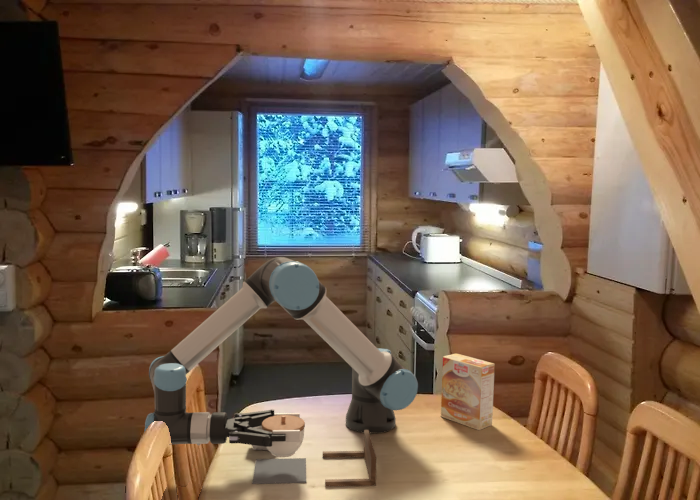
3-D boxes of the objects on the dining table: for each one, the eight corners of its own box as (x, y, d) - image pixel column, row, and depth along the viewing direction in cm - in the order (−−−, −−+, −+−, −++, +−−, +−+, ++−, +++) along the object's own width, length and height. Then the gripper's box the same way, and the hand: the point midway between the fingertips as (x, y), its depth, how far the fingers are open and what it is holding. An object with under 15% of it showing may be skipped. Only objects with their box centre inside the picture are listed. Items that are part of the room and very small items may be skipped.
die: (264, 459, 168) (285, 427, 170) (238, 441, 169) (258, 410, 171) (268, 457, 176) (287, 427, 178) (242, 440, 177) (262, 410, 179)
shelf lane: (367, 455, 171) (368, 429, 170) (375, 485, 153) (376, 457, 153) (322, 455, 170) (322, 430, 169) (325, 486, 152) (325, 458, 152)
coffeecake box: (439, 416, 200) (441, 356, 198) (454, 411, 205) (456, 352, 203) (478, 431, 189) (481, 367, 187) (493, 425, 194) (495, 362, 192)
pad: (305, 459, 167) (305, 458, 167) (306, 482, 154) (306, 481, 154) (256, 460, 166) (256, 459, 166) (252, 483, 153) (252, 482, 153)
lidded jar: (286, 440, 167) (286, 405, 166) (313, 453, 159) (313, 416, 158) (252, 451, 160) (253, 415, 159) (279, 465, 152) (279, 427, 151)
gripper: (216, 425, 169) (299, 424, 171) (203, 462, 146) (299, 461, 148) (216, 397, 168) (299, 397, 170) (203, 431, 145) (300, 430, 147)
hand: (299, 426), depth 159 cm, fingers closed on lidded jar, 11 cm apart
